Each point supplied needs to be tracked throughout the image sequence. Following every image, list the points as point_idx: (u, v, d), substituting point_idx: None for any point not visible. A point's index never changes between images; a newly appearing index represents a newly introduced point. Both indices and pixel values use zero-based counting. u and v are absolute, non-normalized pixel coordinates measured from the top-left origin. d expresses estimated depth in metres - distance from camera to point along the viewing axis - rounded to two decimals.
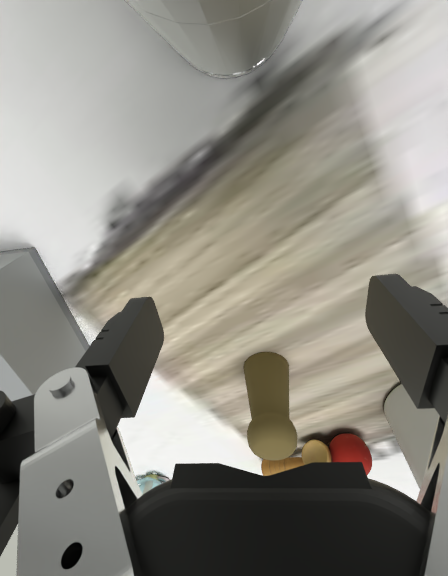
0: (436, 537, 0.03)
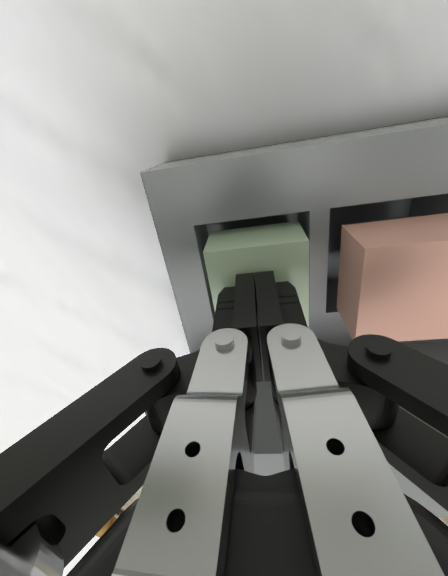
0: None
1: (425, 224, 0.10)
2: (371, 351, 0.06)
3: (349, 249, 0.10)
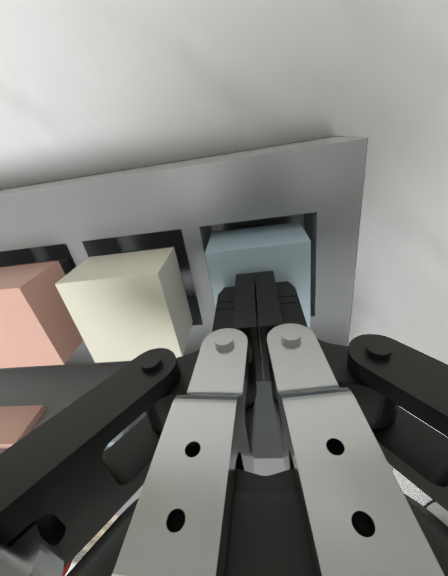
0: None
1: (15, 272, 0.12)
2: (371, 351, 0.06)
3: None
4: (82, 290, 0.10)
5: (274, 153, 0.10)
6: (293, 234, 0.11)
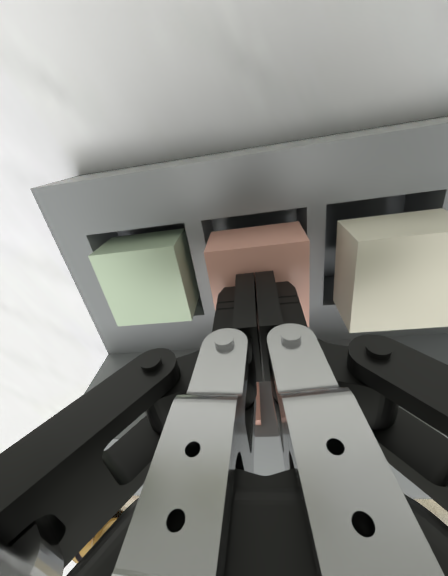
0: None
1: (268, 231, 0.12)
2: (371, 351, 0.06)
3: None
4: (386, 248, 0.09)
5: None
6: None
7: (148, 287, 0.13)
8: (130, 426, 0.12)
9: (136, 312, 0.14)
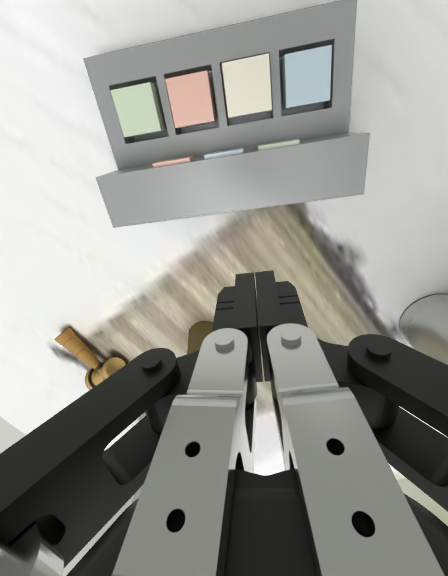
0: None
1: None
2: (371, 351, 0.06)
3: None
4: (233, 66, 0.23)
5: (316, 6, 0.23)
6: None
7: (139, 109, 0.27)
8: (130, 171, 0.26)
9: (133, 126, 0.28)
